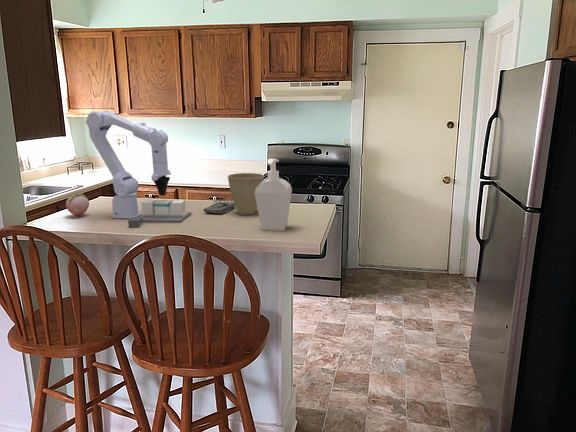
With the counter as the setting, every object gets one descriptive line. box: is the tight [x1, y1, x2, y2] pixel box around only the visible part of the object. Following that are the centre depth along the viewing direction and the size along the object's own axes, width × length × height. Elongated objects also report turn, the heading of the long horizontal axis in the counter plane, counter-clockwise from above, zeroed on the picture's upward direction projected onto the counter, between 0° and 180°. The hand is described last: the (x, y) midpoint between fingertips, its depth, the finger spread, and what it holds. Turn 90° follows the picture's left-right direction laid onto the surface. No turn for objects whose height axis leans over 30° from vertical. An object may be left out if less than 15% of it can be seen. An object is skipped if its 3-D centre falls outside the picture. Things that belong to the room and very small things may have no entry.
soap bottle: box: [255, 158, 293, 232], centre depth 174 cm, size 12×10×26 cm
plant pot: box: [227, 172, 265, 216], centre depth 200 cm, size 15×15×16 cm
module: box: [154, 199, 173, 215], centre depth 194 cm, size 6×5×5 cm
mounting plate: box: [140, 199, 192, 224], centre depth 194 cm, size 18×14×7 cm
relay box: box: [127, 216, 144, 229], centre depth 184 cm, size 4×6×3 cm, turn 6°
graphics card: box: [203, 199, 236, 215], centre depth 207 cm, size 17×4×12 cm
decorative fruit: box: [65, 192, 90, 217], centre depth 199 cm, size 9×8×10 cm
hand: (162, 195), depth 194 cm, fingers closed
